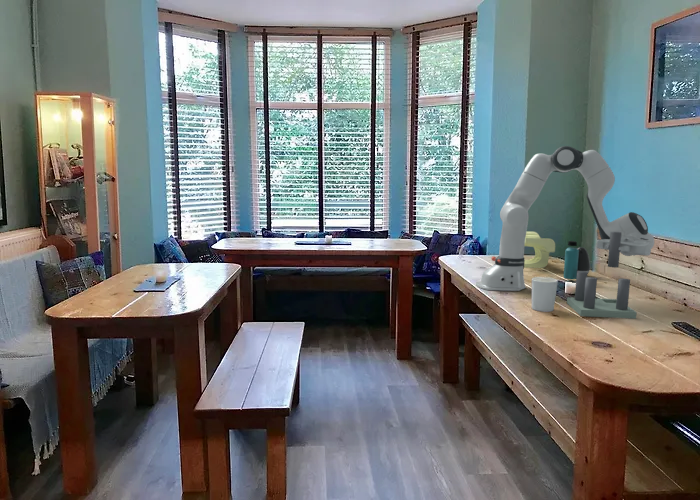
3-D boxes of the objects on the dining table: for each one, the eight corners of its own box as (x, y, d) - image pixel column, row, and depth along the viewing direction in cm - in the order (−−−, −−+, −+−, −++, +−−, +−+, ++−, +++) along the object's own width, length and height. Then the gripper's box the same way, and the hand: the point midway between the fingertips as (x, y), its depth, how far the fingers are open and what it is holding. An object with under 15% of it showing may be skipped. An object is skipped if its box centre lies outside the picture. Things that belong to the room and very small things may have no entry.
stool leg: (611, 267, 221) (614, 233, 219) (605, 265, 225) (608, 231, 223) (620, 267, 222) (623, 232, 220) (614, 265, 226) (617, 231, 223)
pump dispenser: (568, 276, 284) (570, 247, 281) (568, 273, 293) (570, 245, 291) (589, 278, 280) (592, 249, 278) (589, 274, 290) (591, 246, 287)
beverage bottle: (578, 282, 270) (581, 242, 266) (563, 282, 271) (566, 241, 268) (575, 280, 276) (578, 240, 273) (561, 279, 277) (564, 240, 274)
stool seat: (636, 318, 207) (639, 282, 205) (580, 316, 209) (583, 280, 207) (617, 305, 227) (620, 271, 224) (566, 303, 229) (569, 270, 227)
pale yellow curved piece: (553, 270, 299) (555, 238, 297) (523, 270, 300) (525, 237, 297) (537, 261, 329) (539, 231, 326) (510, 260, 330) (512, 231, 327)
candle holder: (555, 307, 222) (557, 278, 220) (555, 313, 213) (558, 283, 211) (529, 305, 225) (531, 276, 223) (529, 310, 216) (531, 280, 214)
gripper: (605, 234, 238) (589, 237, 229) (655, 240, 222) (640, 243, 213) (604, 249, 239) (588, 252, 230) (654, 255, 223) (638, 259, 214)
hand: (613, 248), depth 222 cm, fingers closed on stool leg, 4 cm apart
